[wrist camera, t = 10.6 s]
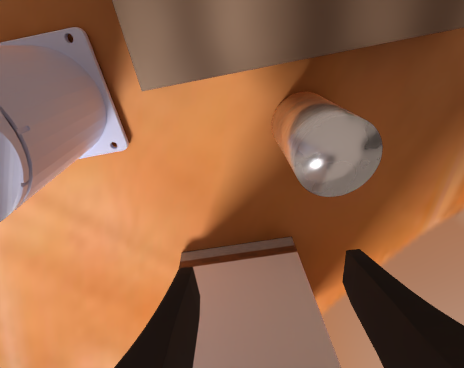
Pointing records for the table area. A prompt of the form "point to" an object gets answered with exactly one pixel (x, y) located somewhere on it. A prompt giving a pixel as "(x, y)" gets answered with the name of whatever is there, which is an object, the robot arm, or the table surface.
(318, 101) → the shiny metal cylinder
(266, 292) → the tall white column
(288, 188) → the table surface
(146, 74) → the housing block
